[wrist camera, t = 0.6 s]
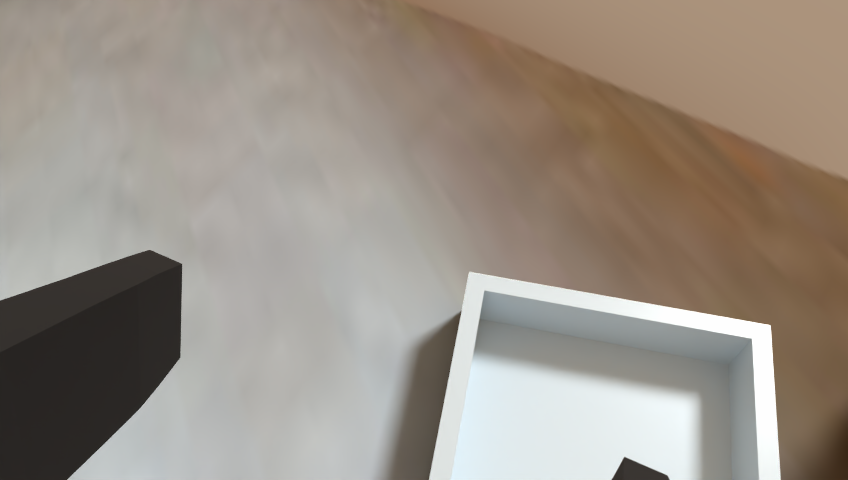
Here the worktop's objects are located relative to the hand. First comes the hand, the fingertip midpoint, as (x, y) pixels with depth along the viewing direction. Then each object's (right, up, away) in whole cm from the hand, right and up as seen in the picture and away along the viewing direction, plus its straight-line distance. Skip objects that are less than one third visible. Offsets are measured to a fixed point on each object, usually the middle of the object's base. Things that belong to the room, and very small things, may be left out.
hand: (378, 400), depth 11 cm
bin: (+7, -6, +16) cm, 19 cm away
